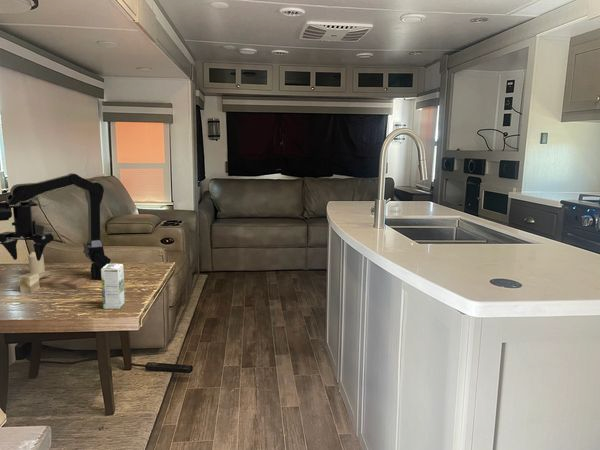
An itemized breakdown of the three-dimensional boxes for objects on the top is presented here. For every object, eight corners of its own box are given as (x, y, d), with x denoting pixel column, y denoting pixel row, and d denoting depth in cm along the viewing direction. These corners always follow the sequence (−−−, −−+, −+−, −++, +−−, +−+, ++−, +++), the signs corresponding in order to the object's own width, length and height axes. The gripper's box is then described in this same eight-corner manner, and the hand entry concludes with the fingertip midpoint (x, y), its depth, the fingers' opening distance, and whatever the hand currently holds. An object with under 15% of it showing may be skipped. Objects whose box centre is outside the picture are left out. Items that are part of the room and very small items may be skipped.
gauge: (53, 281, 180) (52, 267, 179) (30, 293, 166) (29, 277, 165) (44, 281, 180) (42, 266, 179) (20, 292, 167) (18, 277, 165)
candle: (38, 277, 185) (36, 253, 183) (26, 276, 186) (24, 253, 184) (48, 273, 190) (46, 250, 188) (37, 272, 191) (34, 249, 189)
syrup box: (108, 303, 157) (105, 263, 154) (125, 303, 158) (123, 263, 155) (102, 309, 152) (99, 268, 149) (120, 309, 152) (118, 268, 149)
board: (86, 283, 178) (85, 278, 178) (76, 288, 172) (76, 283, 171) (38, 281, 180) (38, 276, 179) (27, 286, 173) (27, 281, 173)
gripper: (60, 216, 171) (64, 255, 174) (14, 214, 173) (18, 253, 176) (41, 221, 160) (45, 263, 163) (-8, 219, 162) (-3, 261, 165)
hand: (27, 260), depth 167 cm, fingers open, 9 cm apart
